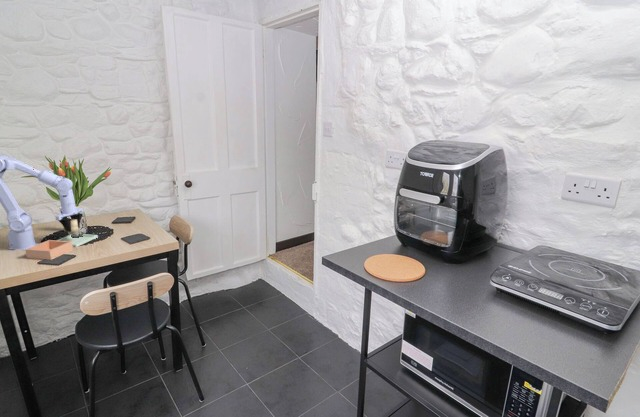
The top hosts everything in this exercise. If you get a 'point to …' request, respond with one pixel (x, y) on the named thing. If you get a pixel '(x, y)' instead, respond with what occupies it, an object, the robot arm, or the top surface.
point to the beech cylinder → (74, 227)
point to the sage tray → (79, 239)
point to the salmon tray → (49, 249)
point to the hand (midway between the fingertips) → (72, 229)
